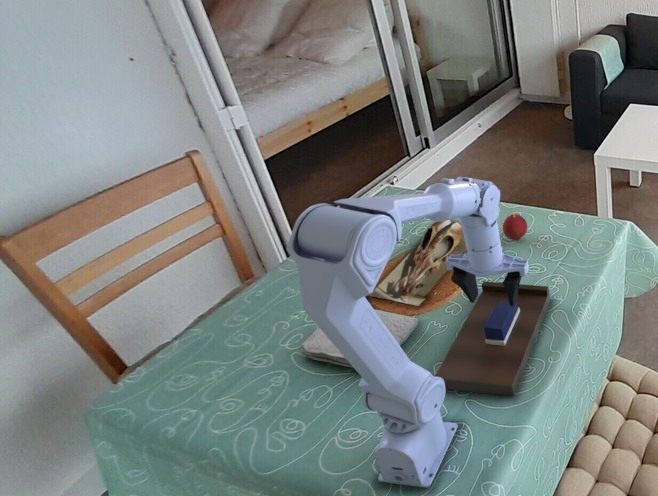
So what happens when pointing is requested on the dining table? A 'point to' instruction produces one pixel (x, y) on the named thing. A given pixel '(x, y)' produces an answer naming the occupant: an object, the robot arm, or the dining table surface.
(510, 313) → the trainer
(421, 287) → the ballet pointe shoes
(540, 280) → the dining table surface
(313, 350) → the washcloth
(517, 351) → the shoe shelf
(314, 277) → the robot arm
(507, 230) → the onion
